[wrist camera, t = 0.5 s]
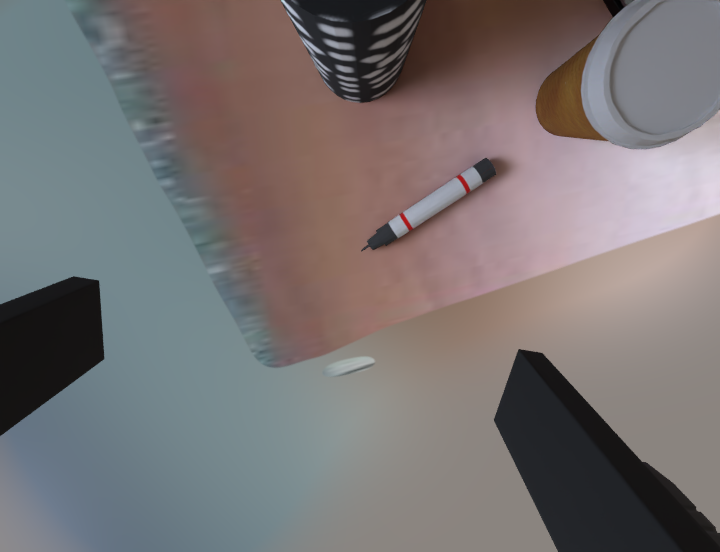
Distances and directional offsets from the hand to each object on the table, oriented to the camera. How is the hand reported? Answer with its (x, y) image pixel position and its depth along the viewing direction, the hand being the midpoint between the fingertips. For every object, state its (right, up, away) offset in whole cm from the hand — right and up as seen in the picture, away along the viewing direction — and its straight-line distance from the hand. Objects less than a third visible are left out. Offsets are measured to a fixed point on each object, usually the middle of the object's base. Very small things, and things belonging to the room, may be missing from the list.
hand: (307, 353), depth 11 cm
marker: (+8, +10, +26) cm, 29 cm away
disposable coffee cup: (+22, +19, +22) cm, 37 cm away
